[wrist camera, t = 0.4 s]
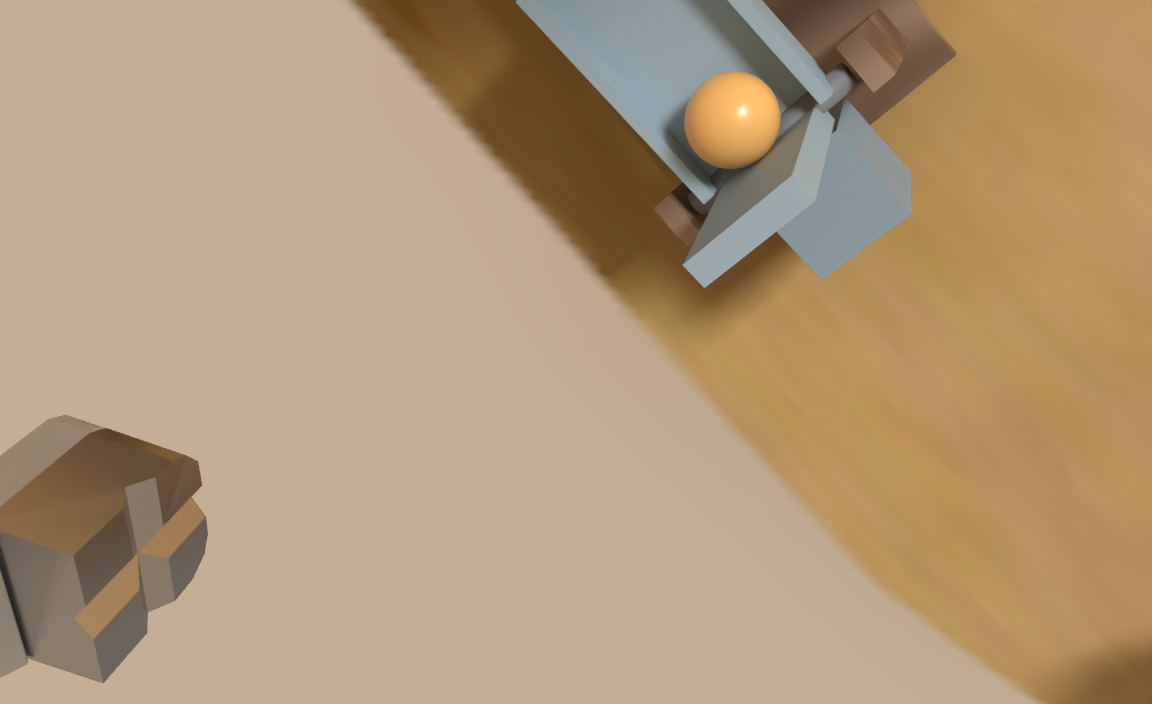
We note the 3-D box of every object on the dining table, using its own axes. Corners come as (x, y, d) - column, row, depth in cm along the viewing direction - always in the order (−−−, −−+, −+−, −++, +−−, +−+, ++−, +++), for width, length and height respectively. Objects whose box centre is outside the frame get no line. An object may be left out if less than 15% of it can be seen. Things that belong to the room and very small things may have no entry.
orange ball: (709, 44, 40) (702, 75, 37) (796, 78, 41) (797, 112, 37) (675, 127, 43) (665, 163, 40) (757, 159, 43) (755, 198, 40)
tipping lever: (944, 146, 46) (959, 281, 32) (801, 255, 50) (762, 411, 37) (682, -155, 43) (581, -144, 30) (556, -11, 48) (419, 55, 34)
